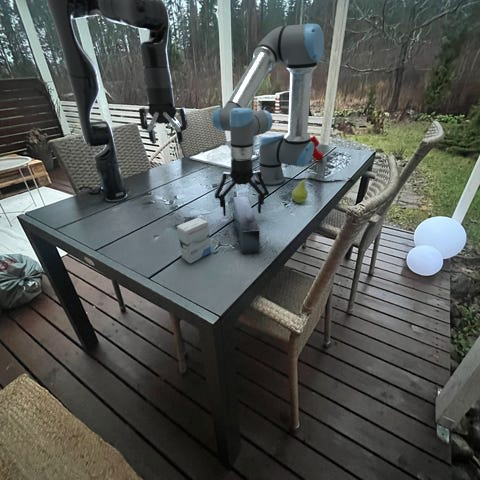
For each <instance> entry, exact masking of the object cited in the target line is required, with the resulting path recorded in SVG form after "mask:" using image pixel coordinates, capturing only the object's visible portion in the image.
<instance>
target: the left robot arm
mask: <svg viewBox="0 0 480 480" xmlns="http://www.w3.org/2000/svg"><path fill="white" fill-rule="evenodd" d="M46 4H47V7H48V11H49V13H50V16H51V19H52V22H53V25H54V28H55V32H56V34H57V37H58V40H59V43H60V48H61V51H62V54H63V58H64V63H65V67H66V72H67V76H68V80H69V83H70V87H71V90H72V94H73V98H74V101H75V105H76V109H77V114H78V120H79V126H80V131H81V134H82V138H83V141H84V143H85V144H86V146H88V147H90V148H94V147H95V148H96V147H103V146H104V148H103V149H102V150H100V152H97V153H95V155H93V160H94V161H93V162H94V164H95V168H96V170H97V174H98V177H99V178H98V180H99V186H100V187H99V188H98V191H94V187H92V186H86V185H82V186H80V187H79V189H78V190H82V189H89V191H88V193H89V194H91V195H97V194H100V193H101V192H102V193H103V194H102V195H103V197H104V199H105V201H106V202H108V203H119V202H123V201H125V200H126V199H127V198H128V194H127V189H126V186H125V182H124V178H123V173H122V170H121V167H120V162H119V159H118V153H117V150H116V145H115V140H114V135H113V130H112V127H111V125H110V123H109V122H108V121H107V120H96V121H91V114H92V110H93V107H94V106H95V103H96V101H97V99H98V96H99V95H100V88H101V87H100V85H101V84H100V81H99V76H98V69H97V67H96V65H95V63H94V61H93V60H92V59H91V57H90V55H89V54H88V53H87V52H86V50H85V49H84V47H83V46H82V45H81V43H80V42H79V40H78V38H77V36H76V32H75V30H74V29H75V28H74V26H73V21H72V20H81V19H85V18H90V17H102V18H103V19H105V20H106V21H107V22H110V23H114V24H118V25H123V26H130V27H132V28H134V29H139V30H146V31H148V32H149V33H148V40H145V41H143V42H141V43H140V45H139V46H140V47H139V49H140V56H141V63H142V69H143V80H144V85H145V92H146V97H147V98H146V99H147V103H148V108H145V106H144V107H140V108H139V109H138V113H139V121H140V128H141V129H142V130H145V131H147V133H148V137H149V141H150V142H151V144H152V145H155V144H157V138H156V137H157V136H156V131H155V127H156V125H157V124H159V125H161V124H165V125H169V124H171V126H172V127H174V128H175V130H176V137H177V144H178V145H182V143H184V131H185V130H187V129H188V128H189V122H188V117H187V110H186V107H180V108H176V106H175V98H174V97H175V96H174V91H173V90H174V89H173V81H172V76H171V71H170V65H169V58H168V52H167V51H168V43H169V41H168V40H169V31H170V30H169V28H170V16H169V11H168V7H167V6H166V4H165V2H164V1H163V0H46ZM177 114H178V116H179V117H180V120H181V124H180V122H179V120H178V119H177V118H176V115H177ZM148 115H150V116H151V117H152V118H151V120H150V122H149V123H148V117H147V116H148Z"/></svg>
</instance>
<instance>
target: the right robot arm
mask: <svg viewBox="0 0 480 480" xmlns="http://www.w3.org/2000/svg"><path fill="white" fill-rule="evenodd" d="M324 36H325V35H324V32H323V29H322V27H321V26H320V25H319V24H318V23H303V24H302V23H301V24H293V25H291V24H290V25H281V26H278V27H276V28H274V29H272V30H271V31H270V32H268V34H266V35H265V36H264V37H263V38H262V39H261V41H260V42H259V43H258V44H257V46H256V48H255V49H254V50H253V55H252V56H253V58H252V60H251V61H250V62H249V65H248V66H247V68H246V70H245V72H244V73H243V75H242V76H241V78H240V79H239V82H237V85H236V86H235V88H234V89H233V91H232V93H231V94H230V96H229V98H228V100H227V101H226V103H225V105H224V106H223V107H218V108H216V109H215V110H213V113H212V117H211V122H212V125H213V126H214V128H215V129H217V130H220V131H223V132H226V131H227V132H230V133H229V134H230V136H229V137H230V149H231V157H232V159H231V169H230V172H226V171H222V172H221V173H222V174H221V178H220V182H219V183H218V186H217V188H216V190H215V193H214V198H215V199H218V200H219V207H220V208H222V213H223V217H226V216H227V210H226V196H227V195H228V194H229V193H230V191H231V190H232V189H233V188H234V187H235V186H236V185H238V186H241V185H248V184H249V185H250V186H251V187H252V188H253V189H254V190H255V191H256V193H257V194H258V195H257V212H258V214H259V215H260V214H262V205H263V206H264V204H265V198H266V197H267V196H270V192H269V190H268V188H267V186H279V185H281V184H283V183H284V181H285V180H290V181H302V180H305V179H306V178H307V177H302V178H293V177H287V176H285V175H284V172H283V171H284V170H283V167H282V165H288V166H293V167H300V168H304V167H306V166H307V165H308V164H309V163H310V161H311V160H312V157H313V156H312V155H313V151H314V143H313V142H310V138H311V135H310V134H309V132H308V129H309V116H310V106H311V105H310V103H311V93H312V79H313V72H314V70H315V69H316V68H317V64H318V62H321V60H322V59H323V54H324V51H325V38H324ZM279 63H286V70H288V72H289V73H290V74H289V100H288V103H289V104H288V126H287V127H288V129H287V133H286V135H284V134H283V133H271V134H266V133H267V132H269V131H270V130H271V129H272V128H273V123H274V119H273V116H272V114H271V112H269V111H268V110H265V109H263V110H261V109H258V110H257V111H256V110H253V109H252V108H251V107H249V106H250V104H251V103H252V100H253V99H254V97H255V96H256V94H257V93H258V90H260V87H261V86H262V83H263V81H264V80H265V78H266V76H267V74H269V71H271V70H273V69H274V68H275V66H276V65H277V64H279ZM263 134H266V135H263ZM259 135H263V136H261V137H260V139H259V153H258V157H259V158H258V167H257V170H256V171H255V170H253V164H254V163H253V162H254V160H253V159H252V157H253V155H254V152H253V151H254V137H257V136H259ZM254 176H255V177H254ZM229 177H230V178H231V180H230V181H229V183H228V184H227V186H225V184H226V181H227V180H228V179H229ZM253 177H254V181H253V180H252V179H253ZM313 178H314V177H309V178H307V179H306V180H311V181H316V182H320V183H335V182H336V183H337V182H342V181H344V180H340V179H332V180H334V181H332V180H323V181H321V180H322V179H318V178H314V179H313ZM347 178H348V179H350V180H349V181H350V182H354V180H353V179H352V178H350V177H347ZM317 179H318V180H317ZM306 180H305V181H306ZM256 183H258V184H259V185H261V187H262V189H263V191H262V189H260V187H259V186H258V185H257V184H256ZM224 186H225V188H224Z"/></svg>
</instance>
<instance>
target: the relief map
mask: <svg viewBox="0 0 480 480" xmlns="http://www.w3.org/2000/svg"><path fill="white" fill-rule="evenodd" d="M231 159H232V157H231V147H230V146H228V145H227V144H225V145H224V144H221V145H220V146H219V147H216V148H213V149H210V150H208V151H204V152H202V151H201V152H200V153H198V154H196V155H192V156H189V160H193V161H196V162H201V163H204V164H209V165H214V166H217V167H222V168H226V169H230V170H231ZM252 159H253V161H254V160H256V159H258V155H256V154H253V157H252Z"/></svg>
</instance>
